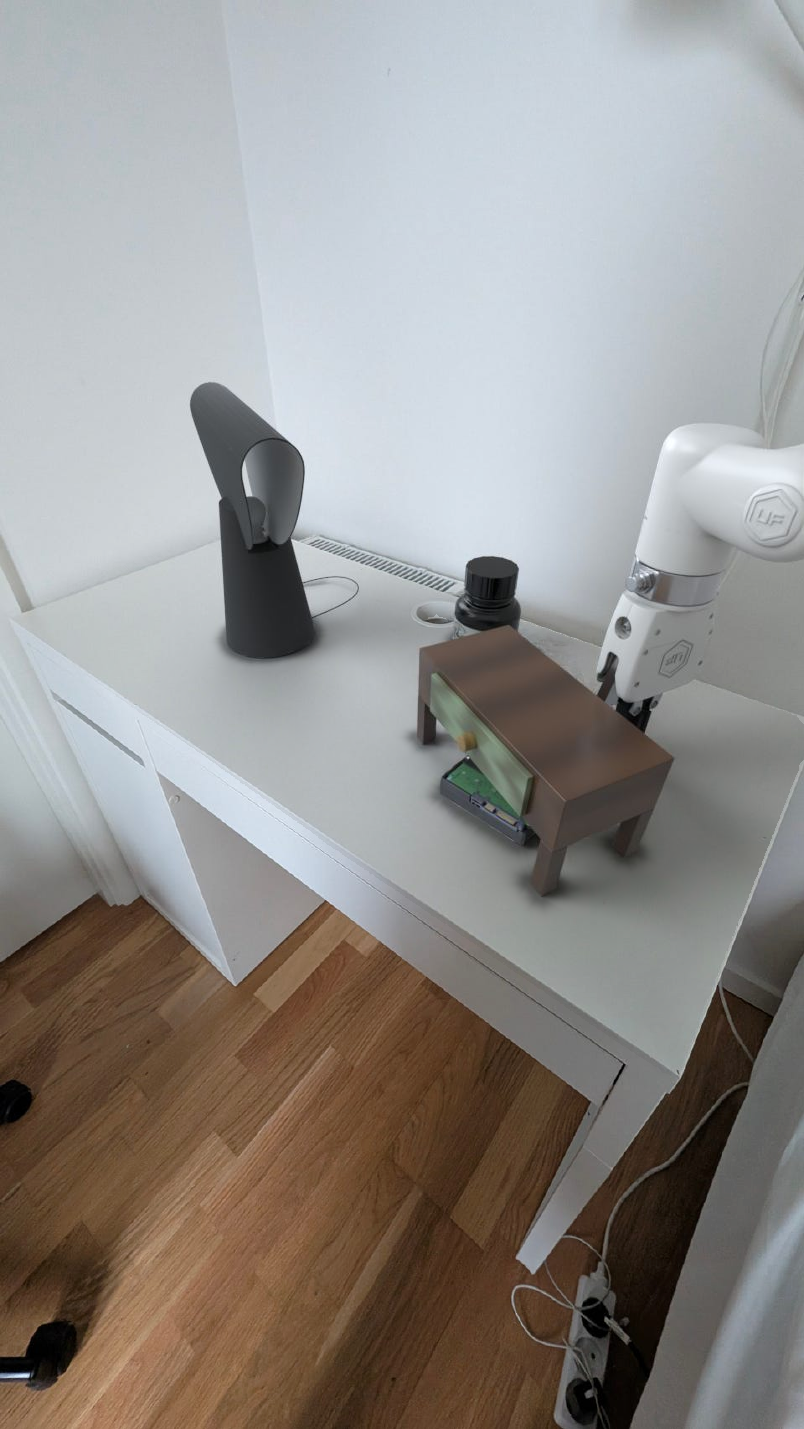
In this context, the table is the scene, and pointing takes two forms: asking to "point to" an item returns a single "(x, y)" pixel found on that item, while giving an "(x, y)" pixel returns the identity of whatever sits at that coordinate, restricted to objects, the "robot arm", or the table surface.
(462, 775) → the disk drive
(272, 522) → the table lamp
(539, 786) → the drawer unit
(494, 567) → the ink bottle
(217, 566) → the table surface
